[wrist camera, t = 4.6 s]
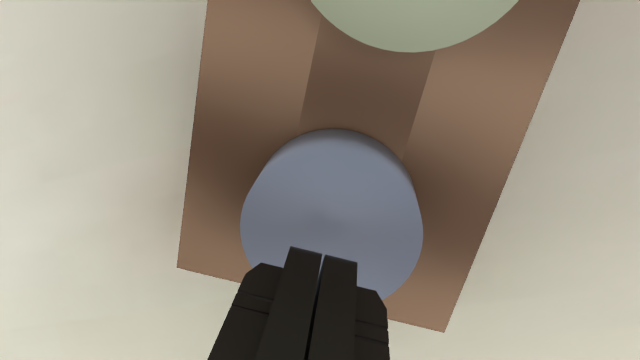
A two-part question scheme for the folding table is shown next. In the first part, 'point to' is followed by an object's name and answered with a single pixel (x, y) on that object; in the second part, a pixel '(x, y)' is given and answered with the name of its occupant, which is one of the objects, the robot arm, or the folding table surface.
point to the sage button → (412, 21)
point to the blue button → (336, 207)
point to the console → (365, 126)
